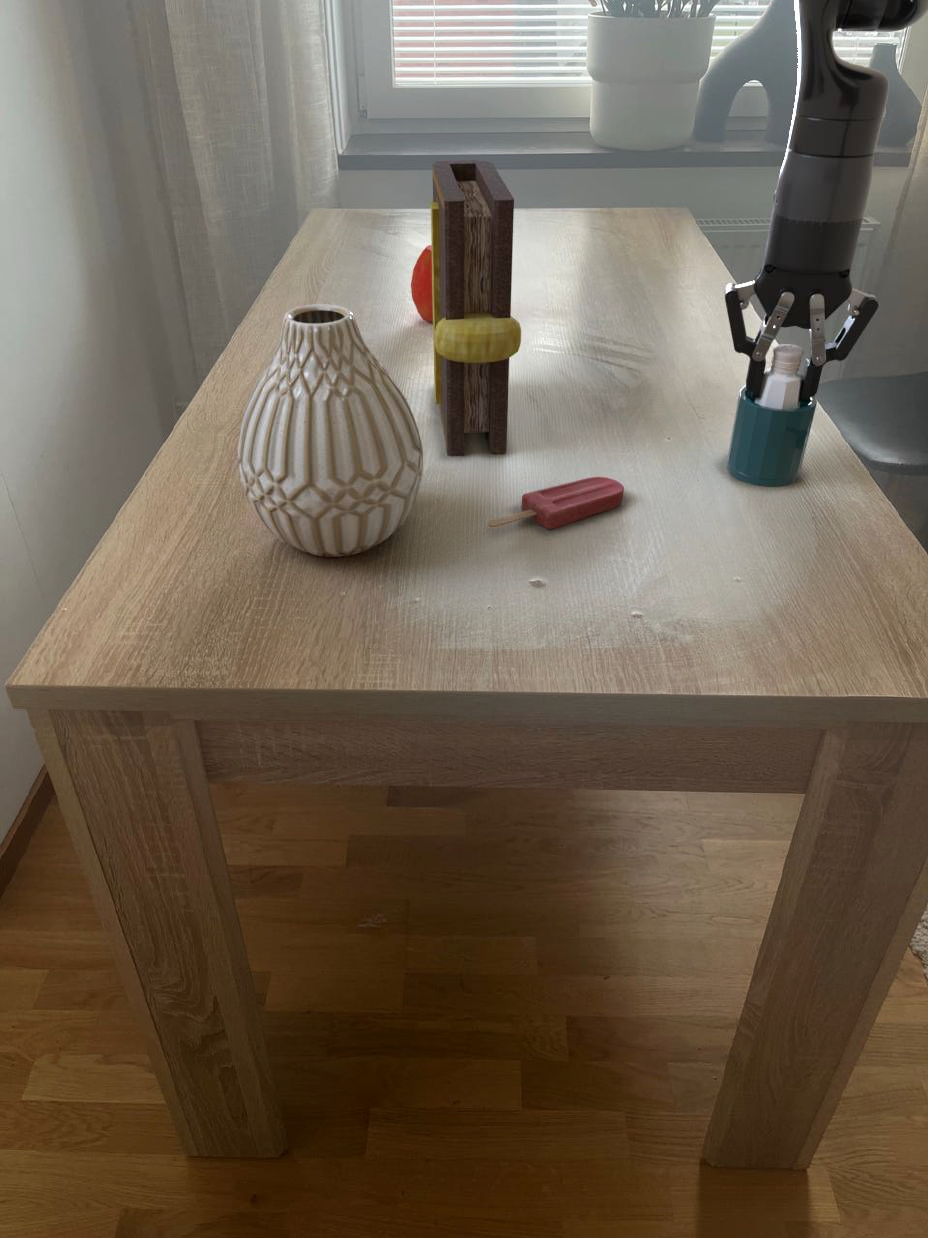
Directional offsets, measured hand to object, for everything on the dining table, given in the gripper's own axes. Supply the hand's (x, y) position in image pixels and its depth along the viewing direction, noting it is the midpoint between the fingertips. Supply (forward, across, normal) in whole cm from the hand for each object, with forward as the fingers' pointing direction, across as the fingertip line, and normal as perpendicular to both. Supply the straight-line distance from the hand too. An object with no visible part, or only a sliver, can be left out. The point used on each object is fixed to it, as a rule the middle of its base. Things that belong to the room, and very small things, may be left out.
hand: (779, 396), depth 90 cm
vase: (+8, -38, -22) cm, 45 cm away
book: (+8, -32, +5) cm, 33 cm away
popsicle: (+8, -20, -14) cm, 25 cm away
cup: (+8, 0, 0) cm, 8 cm away
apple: (+8, -44, +39) cm, 59 cm away
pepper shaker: (+6, 0, 0) cm, 6 cm away
